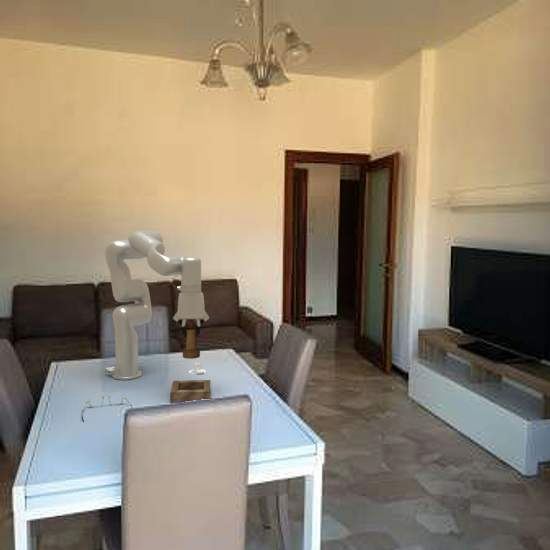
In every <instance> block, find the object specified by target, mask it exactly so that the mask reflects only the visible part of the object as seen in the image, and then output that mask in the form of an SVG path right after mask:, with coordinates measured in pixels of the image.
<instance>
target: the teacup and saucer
mask: <svg viewBox="0 0 550 550" xmlns="http://www.w3.org/2000/svg"><path fill="white" fill-rule="evenodd" d="M201 366H202V364H201V363H200V362H195V363H193V369H190V370H188V373H189V374H192V375H201V374H202V375H203V374H205V373H207V370H206V369H204V368H203V369H201ZM193 371H194V372H193Z"/></svg>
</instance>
